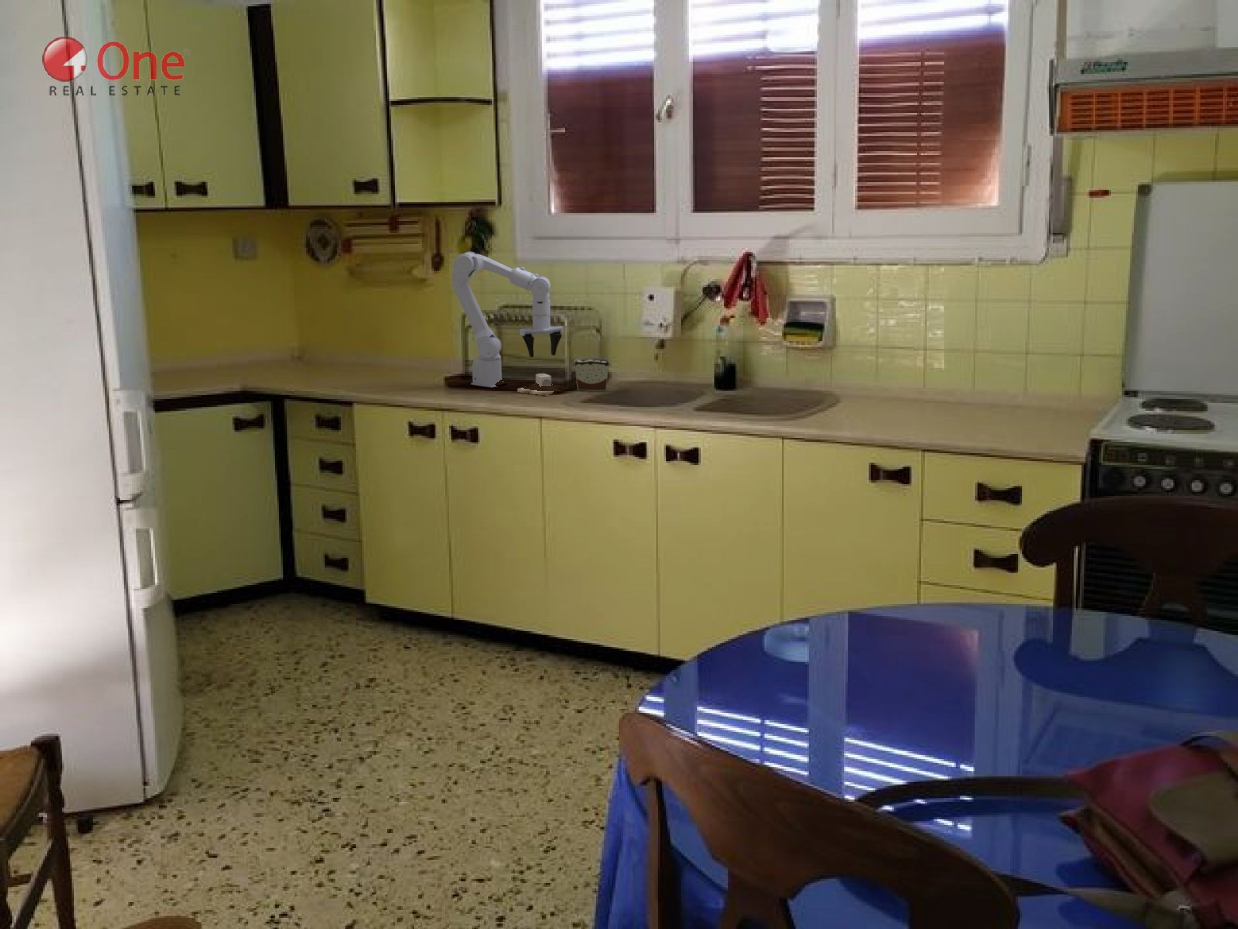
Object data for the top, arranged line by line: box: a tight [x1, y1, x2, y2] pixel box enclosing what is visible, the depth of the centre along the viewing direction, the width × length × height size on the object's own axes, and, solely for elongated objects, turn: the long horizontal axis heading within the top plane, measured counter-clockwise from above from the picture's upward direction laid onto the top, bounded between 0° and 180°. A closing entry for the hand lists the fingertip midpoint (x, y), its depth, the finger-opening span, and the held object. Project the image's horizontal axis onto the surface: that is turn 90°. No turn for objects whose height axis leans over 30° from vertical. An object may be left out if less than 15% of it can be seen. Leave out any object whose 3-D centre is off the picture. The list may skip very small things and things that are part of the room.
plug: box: [535, 373, 552, 387], centre depth 379 cm, size 8×4×4 cm, turn 24°
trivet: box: [517, 387, 554, 397], centre depth 380 cm, size 12×12×1 cm
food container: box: [572, 356, 611, 392], centre depth 382 cm, size 12×6×10 cm, turn 84°
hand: (542, 355), depth 386 cm, fingers open, 7 cm apart
